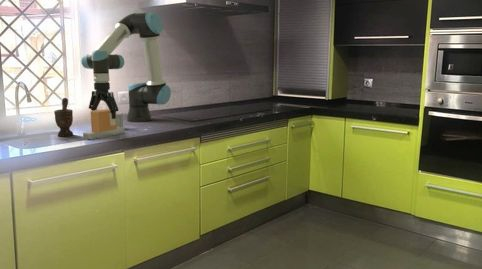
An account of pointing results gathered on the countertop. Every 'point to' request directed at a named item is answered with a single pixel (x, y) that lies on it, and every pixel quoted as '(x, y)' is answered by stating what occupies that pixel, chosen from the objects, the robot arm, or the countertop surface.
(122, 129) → the rail
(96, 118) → the orange block with prongs
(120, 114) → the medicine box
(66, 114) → the mortar and pestle
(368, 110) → the countertop surface
